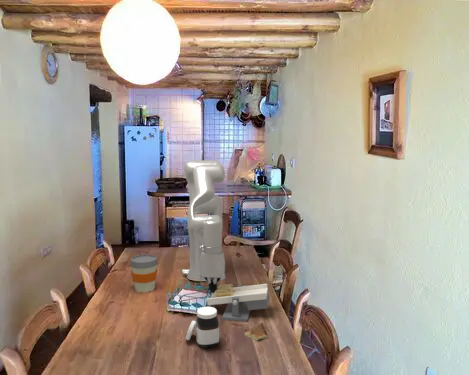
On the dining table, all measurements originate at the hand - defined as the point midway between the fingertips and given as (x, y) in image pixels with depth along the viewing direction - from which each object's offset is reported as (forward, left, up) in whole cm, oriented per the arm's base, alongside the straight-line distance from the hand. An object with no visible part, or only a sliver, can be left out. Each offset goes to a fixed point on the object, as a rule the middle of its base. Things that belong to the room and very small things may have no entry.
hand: (212, 291), depth 164 cm
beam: (+11, 0, -6) cm, 13 cm away
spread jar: (+2, -26, -8) cm, 27 cm away
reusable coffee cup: (-36, +16, -8) cm, 41 cm away
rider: (+6, 0, -2) cm, 6 cm away
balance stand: (+11, 0, -8) cm, 13 cm away
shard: (+20, -17, -8) cm, 27 cm away
